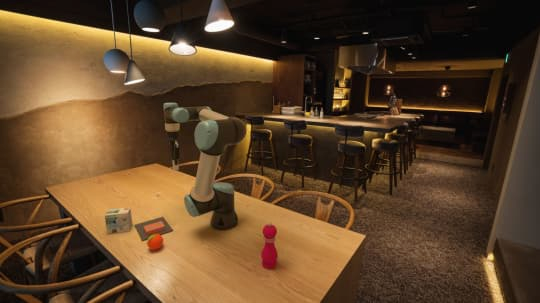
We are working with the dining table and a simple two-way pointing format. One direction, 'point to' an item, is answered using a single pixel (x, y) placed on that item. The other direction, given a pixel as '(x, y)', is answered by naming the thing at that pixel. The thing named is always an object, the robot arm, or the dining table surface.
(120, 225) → the light bulb box
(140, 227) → the mat
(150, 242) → the clementine
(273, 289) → the dining table surface
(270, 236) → the pink bowling pin
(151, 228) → the block
